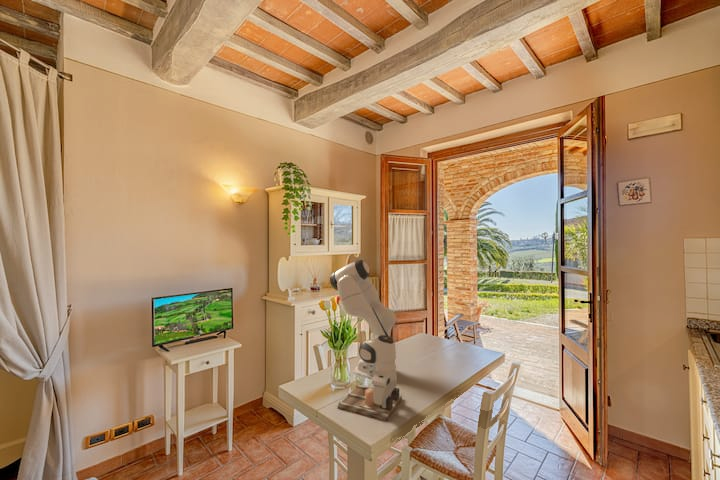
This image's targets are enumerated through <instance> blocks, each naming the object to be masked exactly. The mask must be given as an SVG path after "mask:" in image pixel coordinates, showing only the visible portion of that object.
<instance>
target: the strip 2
mask: <svg viewBox="0 0 720 480" xmlns="http://www.w3.org/2000/svg"><path fill="white" fill-rule="evenodd" d="M399 394H400V388H399V387H395V388H394V390H393V391H392V393H391V397H393V404H395V405H396V404H397V403H398V401H399V400H400V398H401V396H399Z"/></svg>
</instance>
